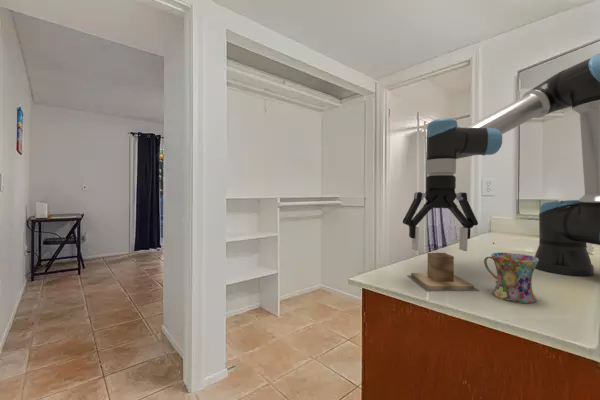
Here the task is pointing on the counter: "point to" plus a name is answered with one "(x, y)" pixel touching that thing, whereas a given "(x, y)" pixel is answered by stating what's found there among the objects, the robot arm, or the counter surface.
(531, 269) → the mug
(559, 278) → the counter surface
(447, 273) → the lid
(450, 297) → the counter surface
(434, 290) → the mat
